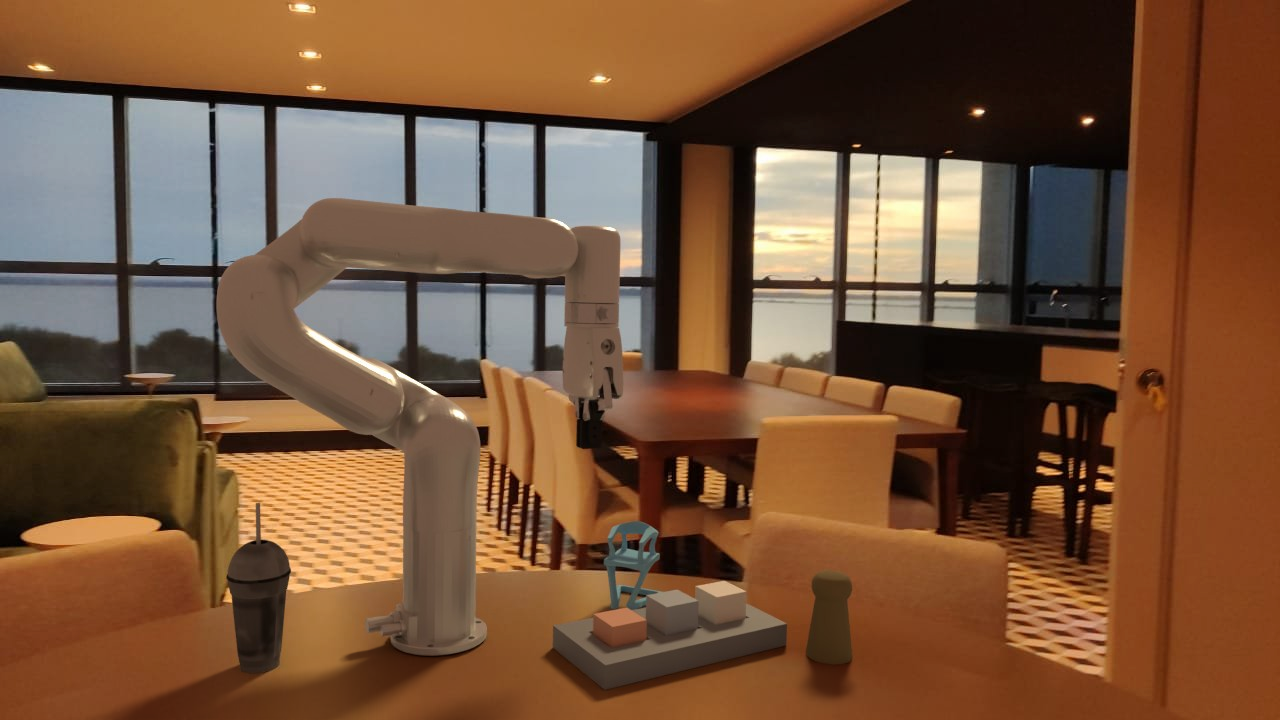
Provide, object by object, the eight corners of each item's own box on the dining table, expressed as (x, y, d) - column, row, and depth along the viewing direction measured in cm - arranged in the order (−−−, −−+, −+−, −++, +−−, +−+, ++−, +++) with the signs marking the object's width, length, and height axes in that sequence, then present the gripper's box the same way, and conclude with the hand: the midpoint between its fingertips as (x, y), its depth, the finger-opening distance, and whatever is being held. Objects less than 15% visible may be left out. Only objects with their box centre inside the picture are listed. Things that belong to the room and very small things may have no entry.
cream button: (716, 626, 117) (716, 597, 117) (694, 614, 121) (695, 586, 121) (745, 619, 120) (746, 591, 119) (723, 608, 124) (724, 580, 124)
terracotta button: (611, 658, 109) (612, 626, 108) (592, 644, 113) (593, 613, 113) (646, 650, 111) (646, 619, 111) (626, 637, 116) (626, 607, 115)
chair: (596, 607, 131) (597, 528, 130) (619, 589, 138) (620, 515, 137) (644, 615, 128) (645, 535, 127) (664, 597, 135) (666, 521, 134)
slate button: (665, 637, 113) (666, 607, 113) (645, 624, 117) (646, 595, 117) (697, 630, 115) (698, 600, 115) (676, 618, 120) (677, 589, 119)
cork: (853, 666, 112) (857, 582, 111) (805, 661, 113) (808, 578, 112) (851, 648, 118) (855, 567, 117) (805, 643, 119) (809, 564, 118)
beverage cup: (228, 682, 103) (226, 515, 101) (225, 659, 109) (224, 501, 108) (294, 671, 106) (294, 509, 104) (288, 649, 112) (287, 496, 111)
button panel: (604, 689, 103) (605, 665, 103) (552, 647, 115) (553, 625, 115) (786, 645, 118) (787, 623, 118) (723, 611, 130) (724, 592, 129)
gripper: (643, 318, 117) (639, 454, 118) (590, 314, 129) (587, 437, 131) (593, 318, 113) (590, 458, 114) (543, 314, 125) (541, 441, 127)
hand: (588, 447), depth 122 cm, fingers closed
